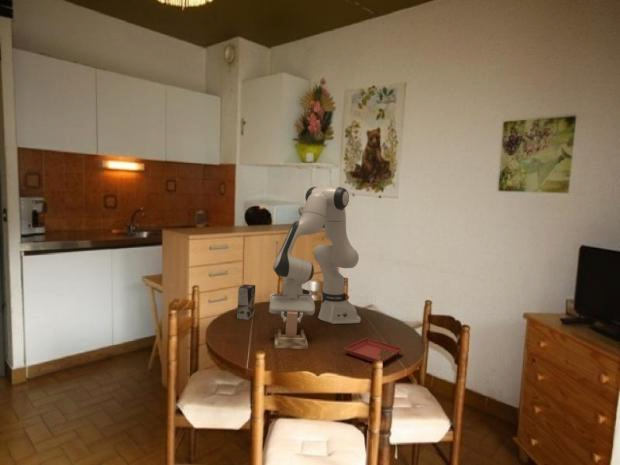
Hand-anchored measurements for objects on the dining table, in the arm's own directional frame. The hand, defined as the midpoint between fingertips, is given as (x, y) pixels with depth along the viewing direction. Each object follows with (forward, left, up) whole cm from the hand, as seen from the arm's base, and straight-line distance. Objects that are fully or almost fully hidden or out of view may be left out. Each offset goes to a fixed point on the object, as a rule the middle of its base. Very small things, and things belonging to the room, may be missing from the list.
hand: (291, 322), depth 177 cm
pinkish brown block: (0, -1, -6) cm, 6 cm away
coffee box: (+22, -36, -10) cm, 43 cm away
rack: (0, -1, -9) cm, 10 cm away
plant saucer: (-34, +10, -10) cm, 37 cm away
